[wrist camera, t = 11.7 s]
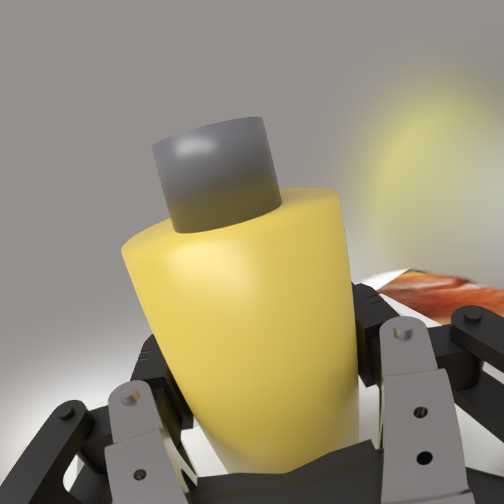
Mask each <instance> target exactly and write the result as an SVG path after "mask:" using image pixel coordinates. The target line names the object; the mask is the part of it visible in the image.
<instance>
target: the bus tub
mask: <svg viewBox="0 0 504 504" xmlns="http://www.w3.org/2000/svg"><path fill="white" fill-rule="evenodd" d="M380 296H381V297H382V298H383V299H384V301H386V302H387V303H388V304H389V305H390V306H391V307H392V308H393V309H394V310H395V311H396V312H397V313H398V314H399V315H400V316H411V317H415V318H418V319H420V320H422V321H423V322H424V323H425V325H426V327H436V326H442V325H440V324H438V323H437V322H435V321H433V320H431V319H429V318H427V317H425V316H423V315H421V314H419V313H418V312H416V311H414V310H412V309H410V308H408V307H406V306H404V305H402V304H400V303H398V302H397V301H395V300H393V299H391V298H389V297H387V296H385V295H383V294H380ZM483 371H485V372H486V373H488V374H489V375H491V376H492V377H494V378H495V379H497V380H498V381H500V382H501V383H503V384H504V374H503V373H502V372H500V371H499V370H497V369H496V368H494V367H493V366H491V365H490V364H488V363H487V362H485V363H484V366H483ZM358 378H359V443H360V442H363V441H366V440H368V439H371V441H372V443H373V445H374V447H375V449H378V429H379V388H378V386H377V385H373V386H370V387H367V388H366V387H365V385H364V384H363V382H362V380H361V378H360V377H359V375H358ZM454 404H455V403H454ZM105 405H108V401H107V402H104V403H100V404H96V405H92V406H88V407H86V408H87V409H88V410H89V411H90V410H93V409H96V408H99V407H102V406H105ZM455 408H456V413H457V418H458V423H459V428H460V434H461V440H462V446H463V453H464V460H465V466H466V467H469V468H473V469H476V470H480V471H483V472H487V473H491V474H495V475H499V476H503V477H504V443H503V442H502V441H500V440H499V439H498V438H497V437H495V436H494V435H493V434H492V433H491V432H489V431H488V430H487V429H486V428H484V427H483V426H482V425H481V424H479V423H478V422H477V421H476V420H474V419H473V418H472V417H471V416H470V415H468V414H467V413H466V412H465V411H463V410H462V409H461V408H460V407H458V406H457V405H456V404H455ZM181 439H182V441H183V442H184V444H185V446H186V448H187V451H188V453H189V455H190V457H191V459H192V461H193V464H194V466H195V468H196V470H197V472H198V474H199V476H200V477H206V476H215V475H224V474H228V472H227V471H226V469H225V468H224V466H223V464H222V463H221V461H220V460H219V458H218V456H217V455H216V453H215V451H214V450H213V448H212V446H211V445H210V443H209V441H208V440H207V438H206V436H205V435H204V433H203V431H202V429H201V428H200V426H199V424H198V422H197V420H196V419H195V417H194V425H193V429H187V430H182V432H181ZM83 465H84V463H83V462H82V460H81V459H80V458H79V457H78V456H77V455H76V456H75V457H74V459H73V461H72V462H71V464H70V466H69V467H68V469H67V471H66V472H65V476H64V487H65V489H66V490H67V491H68V492H69V490H70V489H71V487H72V485H73V483H74V481H75V480H76V478H77V476H78V474H79V472H80V471H81V469H82V467H83ZM112 504H114V503H113V502H112Z"/></svg>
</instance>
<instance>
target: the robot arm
mask: <svg viewBox="0 0 504 504" xmlns="http://www.w3.org/2000/svg"><path fill="white" fill-rule="evenodd" d="M351 284H352V293H353V304H354V315H355V327H356V340H357V357H358V375H359V377H360V378H361V380H362V382H363V384H364V385H365V387H366V388H367V387H370V386H373V385H377V386H378V388H379V429H378V449H375V447H374V445H373V443H372V441H371V439H368V440H366V441H363V442H360V443H357V444H354V445H351V446H348V447H345V448H342V449H339V450H336V451H332V452H329V453H327V454H325V455H323V456H321V457H319V458H317V459H315V460H313V461H311V462H309V463H307V464H305V465H303V466H301V467H299V468H297V469H294V470H292V471H290V472H287V473H281V474H270V473H240V472H238V473H231V474H224V475H215V476H206V477H200V476H199V474H198V472H197V470H196V468H195V466H194V464H193V461H192V459H191V457H190V455H189V453H188V451H187V448H186V446H185V444H184V442H183V441H182V439H181V432H182V430H187V429H193V425H194V415H193V413H192V411H191V409H190V408H189V406H188V404H187V402H186V400H185V398H184V396H183V394H182V392H181V390H180V388H179V386H178V385H177V383H176V381H175V379H174V377H173V374H172V372H171V370H170V368H169V366H168V364H167V362H166V360H165V358H164V356H163V354H162V351H161V349H160V347H159V345H158V343H157V340H156V338H155V336H154V334H152V335H151V336H150V337H149V338H148V339H147V340H146V341H145V342H144V344H143V347H142V349H141V353H140V355H139V357H138V361H137V363H136V366H135V368H134V371H133V374H132V377H131V379H130V381H129V382H126V383H124V384H122V385H120V386H118V387H117V388H116V389H115V390H114V391H113V392H112V393H111V394H110V396H109V399H108V405H105V406H102V407H99V408H96V409H93V410H90V411H89V410H88V409H87V408H86V406H85V405H84V403H83V402H81V401H79V400H70V401H67V402H64V403H62V404H61V405H59V406H58V407H57V408H56V409H55V410H54V411H53V412H52V414H51V415H50V416H49V418H48V419H47V420H46V422H45V423H44V424H43V426H42V427H41V428H40V430H39V431H38V433H37V434H36V435H35V437H34V438H33V440H32V441H31V442H30V444H29V445H28V447H27V448H26V449H25V451H24V452H23V454H22V455H21V456H20V458H19V459H18V461H17V462H16V464H15V465H14V467H13V468H12V470H11V471H10V472H9V474H8V476H7V477H6V479H5V480H4V481H3V483H2V485H1V486H0V504H112V502H113V503H114V504H504V477H503V476H499V475H495V474H491V473H487V472H483V471H480V470H476V469H473V468H469V467H466V466H465V460H464V453H463V446H462V440H461V434H460V428H459V423H458V418H457V413H456V408H455V404H456V405H457V406H458V407H460V408H461V409H462V410H463V411H465V412H466V413H467V414H468V415H470V416H471V417H472V418H473V419H474V420H476V421H477V422H478V423H479V424H481V425H482V426H483V427H484V428H486V429H487V430H488V431H489V432H491V433H492V434H493V435H494V436H495V437H497V438H498V439H499V440H500V441H502V442H503V443H504V384H503V383H501V382H500V381H498V380H497V379H495V378H494V377H492V376H491V375H489V374H488V373H486V372H485V371H483V366H484V363H485V362H487V363H488V364H490V365H491V366H493V367H494V368H496V369H497V370H499V371H500V372H502V373H503V374H504V317H502V316H500V315H498V314H496V313H494V312H492V311H490V310H488V309H486V308H483V307H480V306H476V305H468V306H463V307H460V308H458V309H456V310H455V311H454V312H453V314H452V316H451V324H448V325H442V326H436V327H426V325H425V323H424V322H423V321H422V320H420V319H418V318H415V317H411V316H400V315H399V314H398V313H397V312H396V311H395V310H394V309H393V308H392V307H391V306H390V305H389V304H388V303H387V302H386V301H384V299H383V298H382V297H381V296H380V295H379V294H378V293H377V292H376V291H375V290H374V289H373V288H372V287H370V286H367V285H365V284H362V283H360V284H356V285H354V284H353V283H352V282H351ZM454 403H455V404H454ZM76 455H77V456H78V457H79V458H80V459H81V460H82V462H83V463H84V465H83V467H82V469H81V471H80V472H79V474H78V476H77V478H76V480H75V481H74V483H73V485H72V487H71V489H70V490H69V492H68V491H67V490H66V489H65V487H64V484H63V477H64V474H65V472H66V471H67V469H68V467H69V466H70V464H71V462H72V461H73V459H74V457H75V456H76Z"/></svg>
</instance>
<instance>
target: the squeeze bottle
mask: <svg viewBox="0 0 504 504" xmlns="http://www.w3.org/2000/svg"><path fill="white" fill-rule="evenodd" d="M152 151H153V155H154V159H155V163H156V167H157V171H158V174H159V178H160V182H161V186H162V189H163V193H164V196H165V200H166V204H167V207H168V211H169V214H170V217H171V218H169V219H167V220H165V221H162V222H160V223H158V224H156V225H154V226H151V227H150V228H148V229H146V230H144V231H142V232H140V233H139V234H137V235H135V236H134V237H132V238H131V239H130V240H129V241H127V242H126V243H125V244H124V246H123V247H122V250H121V252H122V255H123V258H124V261H125V263H126V266H127V269H128V271H129V274H130V277H131V280H132V282H133V285H134V288H135V290H136V293H137V295H138V298H139V300H140V303H141V305H142V308H143V310H144V313H145V315H146V317H147V320H148V322H149V324H150V327H151V329H152V331H153V334H154V336H155V338H156V340H157V343H158V345H159V347H160V349H161V351H162V354H163V356H164V358H165V360H166V362H167V364H168V366H169V368H170V370H171V372H172V374H173V377H174V379H175V381H176V383H177V385H178V386H179V388H180V390H181V392H182V394H183V396H184V398H185V400H186V402H187V404H188V406H189V408H190V409H191V411H192V413H193V415H194V417H195V419H196V420H197V422H198V424H199V426H200V428H201V429H202V431H203V433H204V435H205V436H206V438H207V440H208V441H209V443H210V445H211V446H212V448H213V450H214V451H215V453H216V455H217V456H218V458H219V460H220V461H221V463H222V464H223V466H224V468H225V469H226V471H227V472H228V474H231V473H238V472H240V473H270V474H281V473H287V472H290V471H292V470H294V469H297V468H299V467H301V466H303V465H305V464H307V463H309V462H311V461H313V460H315V459H317V458H319V457H321V456H323V455H325V454H327V453H329V452H332V451H336V450H339V449H342V448H345V447H348V446H351V445H354V444H357V443H359V378H358V357H357V340H356V327H355V315H354V304H353V293H352V284H351V276H350V267H349V259H348V251H347V244H346V237H345V230H344V225H343V217H342V212H341V206H340V199H339V194H338V193H337V192H336V191H334V190H332V189H328V188H320V187H300V188H288V189H279V186H278V182H277V177H276V173H275V169H274V164H273V160H272V156H271V152H270V147H269V143H268V139H267V135H266V131H265V126H264V122H263V119H262V117H248V118H240V119H234V120H228V121H223V122H219V123H214V124H210V125H206V126H202V127H198V128H195V129H192V130H188V131H185V132H182V133H179V134H176V135H173V136H171V137H168V138H166V139H163V140H161V141H159V142H157V143H155V144H154V145H152Z"/></svg>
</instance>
